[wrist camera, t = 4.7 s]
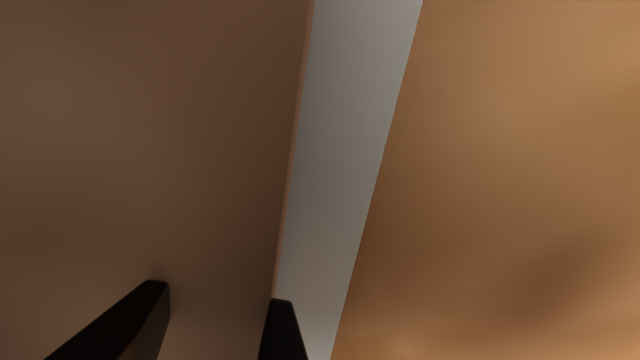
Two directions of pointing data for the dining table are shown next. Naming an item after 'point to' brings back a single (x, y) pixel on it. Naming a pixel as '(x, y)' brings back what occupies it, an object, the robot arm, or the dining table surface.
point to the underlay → (339, 153)
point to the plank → (146, 165)
